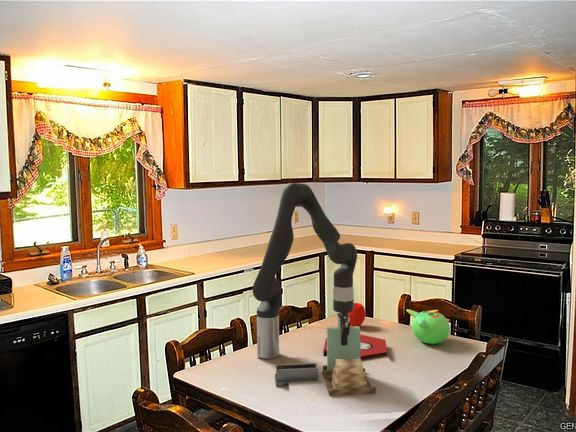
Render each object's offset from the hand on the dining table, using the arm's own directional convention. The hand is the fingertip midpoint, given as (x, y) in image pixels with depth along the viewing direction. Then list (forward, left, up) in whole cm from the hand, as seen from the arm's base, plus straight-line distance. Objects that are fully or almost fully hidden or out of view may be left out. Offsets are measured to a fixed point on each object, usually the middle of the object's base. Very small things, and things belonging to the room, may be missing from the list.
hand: (343, 343), depth 196 cm
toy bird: (+45, +36, -14) cm, 59 cm away
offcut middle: (0, -11, -9) cm, 14 cm away
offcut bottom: (0, -11, -12) cm, 16 cm away
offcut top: (0, -11, -6) cm, 12 cm away
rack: (0, -7, -14) cm, 15 cm away
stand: (-17, 0, -14) cm, 22 cm away
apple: (+17, +62, -14) cm, 66 cm away
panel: (0, 0, -12) cm, 12 cm away
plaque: (+10, +28, -14) cm, 33 cm away
